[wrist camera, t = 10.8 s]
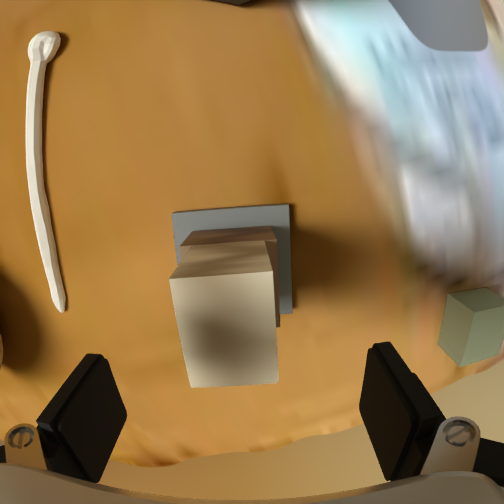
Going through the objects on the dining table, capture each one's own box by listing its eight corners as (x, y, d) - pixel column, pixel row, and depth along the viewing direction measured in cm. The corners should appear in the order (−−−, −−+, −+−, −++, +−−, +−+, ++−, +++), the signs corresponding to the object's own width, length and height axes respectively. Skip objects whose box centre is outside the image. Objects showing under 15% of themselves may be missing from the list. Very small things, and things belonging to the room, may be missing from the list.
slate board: (287, 203, 25) (288, 204, 24) (290, 308, 27) (292, 313, 26) (174, 211, 25) (171, 213, 24) (187, 314, 27) (185, 319, 26)
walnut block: (270, 225, 24) (276, 239, 19) (273, 298, 26) (280, 327, 21) (192, 231, 24) (179, 246, 19) (200, 302, 26) (191, 332, 21)
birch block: (264, 240, 19) (272, 271, 13) (270, 328, 21) (278, 382, 15) (191, 246, 19) (169, 278, 13) (203, 332, 21) (191, 387, 15)
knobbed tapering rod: (90, 309, 27) (77, 321, 24) (58, 309, 27) (44, 321, 24) (68, 29, 20) (54, 19, 17) (36, 42, 20) (21, 35, 17)
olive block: (485, 286, 27) (512, 303, 23) (474, 334, 29) (498, 354, 24) (446, 293, 27) (474, 312, 22) (436, 343, 29) (459, 367, 24)
